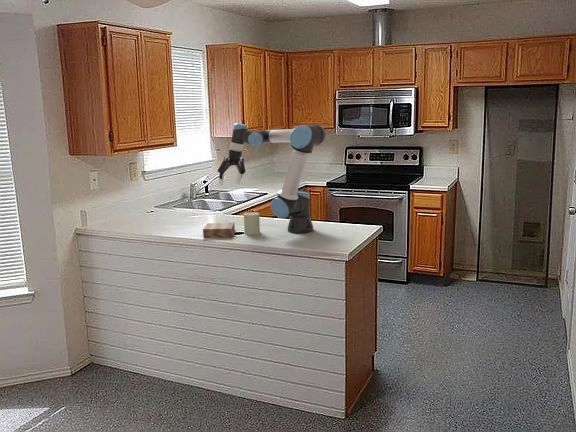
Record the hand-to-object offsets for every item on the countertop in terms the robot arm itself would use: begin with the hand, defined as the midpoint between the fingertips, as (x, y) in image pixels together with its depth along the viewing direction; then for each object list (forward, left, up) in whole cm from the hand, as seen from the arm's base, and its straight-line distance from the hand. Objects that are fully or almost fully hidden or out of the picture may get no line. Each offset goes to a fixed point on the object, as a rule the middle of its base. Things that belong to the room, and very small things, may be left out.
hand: (229, 184), depth 337 cm
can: (-14, +16, -27) cm, 34 cm away
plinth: (+5, +17, -27) cm, 32 cm away
